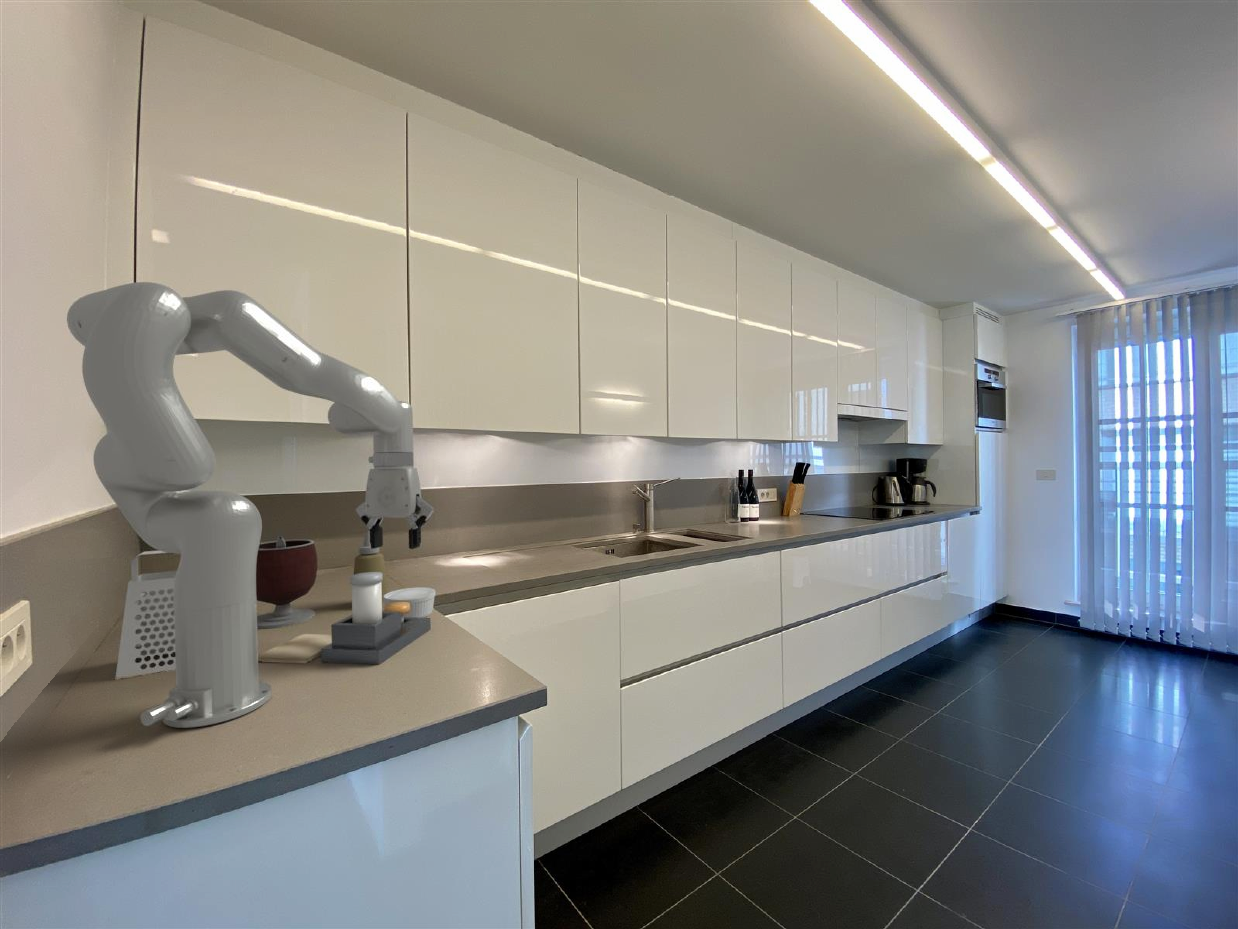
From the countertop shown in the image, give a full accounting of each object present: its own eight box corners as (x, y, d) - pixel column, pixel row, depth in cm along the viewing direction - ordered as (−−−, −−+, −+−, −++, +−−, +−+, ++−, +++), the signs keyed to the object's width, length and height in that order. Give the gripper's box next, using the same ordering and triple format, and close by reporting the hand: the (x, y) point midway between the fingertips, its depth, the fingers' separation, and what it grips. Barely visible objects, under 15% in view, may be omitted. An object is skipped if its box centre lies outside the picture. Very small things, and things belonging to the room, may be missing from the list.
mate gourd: (247, 617, 119) (245, 530, 119) (317, 607, 127) (315, 525, 126) (242, 636, 106) (239, 539, 106) (320, 623, 114) (318, 533, 113)
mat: (305, 663, 92) (305, 659, 92) (254, 661, 93) (254, 656, 93) (349, 639, 104) (349, 635, 104) (303, 637, 105) (303, 633, 105)
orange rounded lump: (402, 629, 104) (401, 608, 104) (379, 629, 104) (379, 608, 104) (414, 622, 109) (414, 602, 108) (393, 621, 109) (392, 601, 109)
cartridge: (372, 645, 93) (371, 579, 93) (345, 644, 94) (343, 578, 94) (389, 634, 99) (388, 572, 99) (363, 634, 100) (361, 571, 99)
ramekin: (385, 611, 122) (385, 589, 122) (436, 606, 126) (435, 585, 126) (381, 626, 112) (380, 602, 112) (435, 620, 115) (435, 596, 115)
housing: (379, 664, 91) (378, 628, 91) (321, 662, 92) (320, 626, 92) (430, 629, 109) (429, 599, 109) (381, 627, 110) (381, 597, 110)
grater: (195, 666, 91) (192, 553, 91) (115, 680, 86) (111, 559, 85) (207, 647, 100) (204, 544, 100) (135, 659, 95) (132, 550, 95)
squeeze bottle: (348, 609, 124) (346, 534, 123) (356, 600, 132) (354, 530, 131) (385, 606, 126) (383, 533, 126) (390, 598, 134) (389, 528, 133)
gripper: (342, 462, 103) (344, 550, 104) (425, 461, 101) (426, 551, 101) (365, 462, 111) (367, 544, 111) (442, 461, 109) (444, 545, 109)
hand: (395, 547), depth 106 cm, fingers open, 7 cm apart
